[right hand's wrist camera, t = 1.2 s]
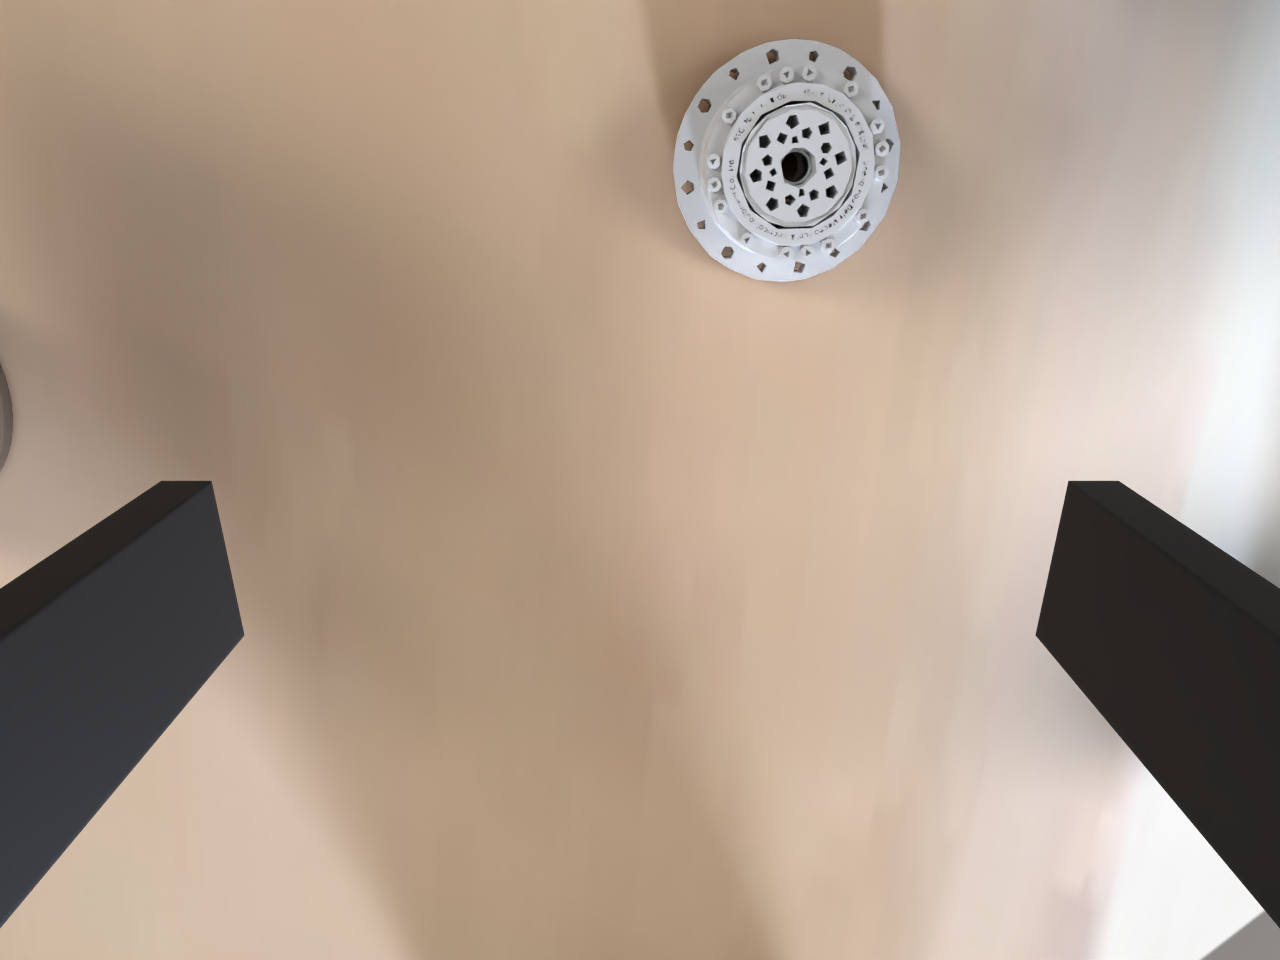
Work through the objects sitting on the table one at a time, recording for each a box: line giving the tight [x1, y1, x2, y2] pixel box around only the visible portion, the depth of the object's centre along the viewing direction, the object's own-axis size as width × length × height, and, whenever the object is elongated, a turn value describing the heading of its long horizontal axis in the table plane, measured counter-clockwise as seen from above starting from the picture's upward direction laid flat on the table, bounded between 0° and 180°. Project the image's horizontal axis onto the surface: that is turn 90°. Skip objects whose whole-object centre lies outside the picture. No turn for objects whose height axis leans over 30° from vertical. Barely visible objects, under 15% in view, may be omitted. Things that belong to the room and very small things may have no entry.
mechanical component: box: [673, 39, 901, 282], centre depth 35 cm, size 10×4×10 cm
